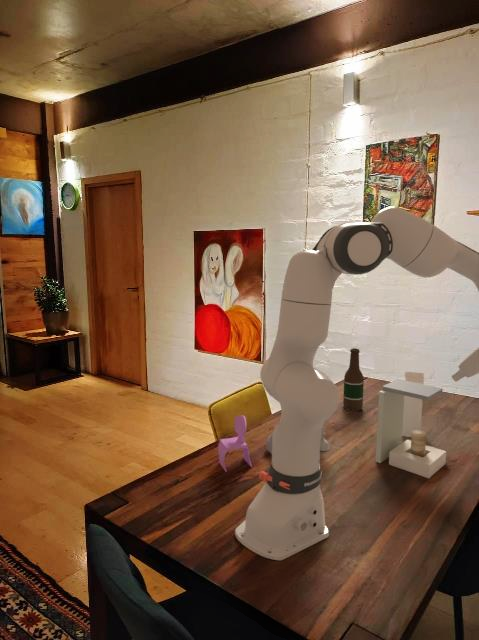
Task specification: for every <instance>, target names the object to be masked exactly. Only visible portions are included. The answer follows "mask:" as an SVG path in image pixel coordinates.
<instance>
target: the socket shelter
mask: <svg viewBox="0 0 479 640" xmlns="http://www.w3.org/2000/svg"><path fill="white" fill-rule="evenodd" d="M443 390H444V389H443V387H442V388H441V387H436V386H432V385H428V384H424V385H423V384H419V383H414V382H409V381H405V379H404V380H403V379H399V378H397V379H395V380H393V381H391V382H389V383H386V384H384V385H382V390H380V391H378V406H377V425H376V444H375V445H376V447H375V448H376V449H375V462H376V463H379V464H381V463H383V462H384V461H385V460H387V459H388V466H389V465H390V466H392V467H394V468H398V469H402V470H404V471H407V472H410V473H412V474H416V475H418V476H420V477H424V478H426V479H430V478H431V477H432V476H434V474H436V473H437V472H438V471H439V470H440V469H442V467H443V466H445V465H446V461H447V460H446V459H447V451H446V450H443V449H440V448H437V447H434V446H431V445H427V444H426V446H425V457H420V456H417V455H414V454H411V439H406V440H405V441H403V436H402V428H403V411H404V395H405V396H409V397H414V398H418V399H422V400H423V401H426V402H429V401H431V400H432V399H434V398H436V397H437V396H439V395H441V394H442V393H443Z"/></svg>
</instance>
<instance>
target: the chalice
mask: <svg viewBox="0 0 479 640" xmlns="http://www.w3.org/2000/svg"><path fill="white" fill-rule="evenodd" d="M328 420H329V419H327V420H326V421H325V423H327V422H328ZM325 429H326V426H325V425H324V426H323V429H322V433H321V438H320V452H327V451H329V450H330V449H331V446H330V445H329V442H328V440H326V439H325V435H326V432H325Z"/></svg>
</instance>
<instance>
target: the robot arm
mask: <svg viewBox="0 0 479 640" xmlns="http://www.w3.org/2000/svg"><path fill="white" fill-rule="evenodd" d="M370 221H371V222H369V221H368V222H366V221H364V222H363V221H359V222H345V223H341V224H338V225H334V226H332V227H330V228H328V229H327V230H326V231H325V232H324V233H323V234H322V235H321V237H320V238H319V240H318V241H317V243H316V244H315V245H314V247H313V248H312V249H311V250H309V249H308V250H302V251H300V252H297V253H295V254H294V255H292V257H290V259H289V262H288V265H287V268H286V272H285V275H284V276H285V277H284V280H283V285H282V291H281V300H280V309H279V316H278V317H279V318H278V326H277V327H278V328H277V333H276V336H275V339H274V340H275V341H274V343H273V347H272V349H271V351H270V354H269V357H268V358H267V360H264V361H265V362H264V363H263V364H262V366H261V369H260V381H261V383H262V385H263V387H264V389H265V391H266V392H267V394H268V395H269V396H270V397H272V398H273V399H274V400H276V402H278V403H279V404H280V409H281V413H280V414H281V415H280V419H279V422H278V425H277V426H276V427H275V428H274V429H273V431H272V433H273V434H272V433H271V434H272V454H271V462H270V465H269V467H268V472H266V471H264V470H262V471H260V473H259V476H258V477H259V478H258V479H259V480H260V481H264V482H265V483H264V485H263V486H262V487H261V489H259V492H258V493H257V494H256V495H255V497H254V499H253V500H252V501H251V503H250V504H249V506H248V507H247V509H246V515H245V519H244V520H243V521H242V522H241V523H240V524H239V525H238V526H237V527H236V528H235V529H234V531H235V532H234V535H235V538H236V539H237V540H238V542H239V543H241V545H243V546H244V547H245V548H247V549H248V550H250V551H251V552H253V553H255V554H256V555H259V556H261V557H263V558H265V559H270V560H275V561H283V560H285V559H287V558H289V557H292V556H293V555H296V554H297V553H299V552H301V551H303V550H305V549H307V548H310V547H311V546H313V545H315V544H317V543H319V542H322V541H323V540H325V539H327V538H329V536H330V530H329V528H328V526H327V525H326V516H325V515H326V512H325V500H324V496H323V493H322V490H321V486H320V485H321V482H322V476H323V475H322V467H321V466H322V465H321V464H320V455H321V451H320V438H321V433H322V429H323V426H324V427H325V423H326V422H325V421H326V420H327V419H328V420H329V418H331V417H332V416H333V415H334V414H335V413H336V411H337V410H338V407H339V403H340V398H341V397H340V392H339V388H338V387H337V385H336V383H334V382H333V380H332V379H331V378H330V377H329V376H328V375H327V374H326V373H325V372H324V371H322V370H320V369H318V368H316V367H314V365H313V364H314V359H315V356H316V354H317V351H318V349H319V348H320V346H321V345H322V344H323V343H324V342H326V340H327V338H328V335H329V334H328V333H329V326H330V319H331V317H330V316H331V308H332V301H333V289H334V287H335V283H336V281H337V280H338V279H339V277H340V276H341V275H342V274H343V275H357V276H358V275H365V274H368V273H371V272H372V271H373V270H375V269H376V268H378V267H379V265H381V263H383V261H384V260H385V259H388V260H390V261H392V262H393V263H395V264H397V265H398V266H400V267H401V268H402V269H405V271H407V272H409V273H411V274H413V275H416V276H418V277H422V278H426V279H427V278H433V277H435V276H438V275H440V274H442V273H444V271H445V270H446V269H449V270H451V271H454V272H455V273H456V274H457V273H458V274H459V275H461V276H463V277H465V278H466V279H469V280H470V281H471V282H472V283H473V284H474V285H475V286H476V288H477V291H478V292H479V252H478V251H476V250H475V249H472V248H471V247H469V246H467V245H466V244H464V243H461V242H459V241H458V240H456V239H454V238H452V237H451V236H450V235H449V234H447V233H446V232H444V231H443V229H440V228H438V227H437V226H436V225H434V224H433V223H431V222H429V221H428V220H427V219H424V218H423V217H421V216H419V215H417V214H415V213H412V212H410V211H408V210H405V209H403V208H400V207H397V206H388V207H385V208H383V209H381V210H379V212H377V213H376V214H375V215H374V217H373V218H372V219H371V220H370ZM458 369H459V370H457V371H456V372H455V373H454V374H452V375H451V378H452V379H453V381H454V382H456V383H457V382H459V381H460V380H461V379H463V378H465V377H466V378H467V379H468V378H471V377H474V376H476V375H478V374H479V347H477V348H476V349H474V351H473V352H471V353H470V354H469V355H468V356H467V357H466V358H465V359H463V360H462V362H460V363H459V365H458ZM328 420H327V421H328Z"/></svg>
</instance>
